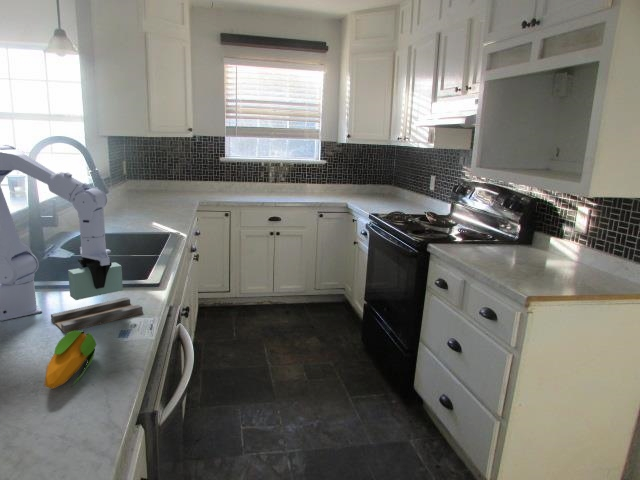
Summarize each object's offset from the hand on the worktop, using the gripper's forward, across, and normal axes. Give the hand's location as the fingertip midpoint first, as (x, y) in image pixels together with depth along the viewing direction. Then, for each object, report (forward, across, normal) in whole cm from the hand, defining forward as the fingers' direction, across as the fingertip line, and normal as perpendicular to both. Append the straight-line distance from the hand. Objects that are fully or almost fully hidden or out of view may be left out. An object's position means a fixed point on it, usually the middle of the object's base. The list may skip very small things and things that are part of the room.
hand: (96, 285), depth 123 cm
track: (+9, 0, 0) cm, 9 cm away
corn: (+9, -27, +16) cm, 32 cm away
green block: (+2, 0, 0) cm, 2 cm away
